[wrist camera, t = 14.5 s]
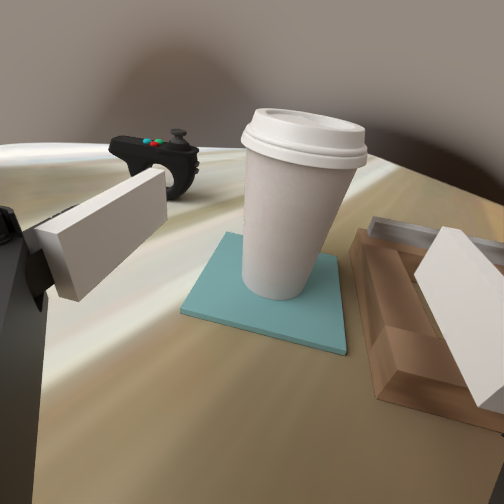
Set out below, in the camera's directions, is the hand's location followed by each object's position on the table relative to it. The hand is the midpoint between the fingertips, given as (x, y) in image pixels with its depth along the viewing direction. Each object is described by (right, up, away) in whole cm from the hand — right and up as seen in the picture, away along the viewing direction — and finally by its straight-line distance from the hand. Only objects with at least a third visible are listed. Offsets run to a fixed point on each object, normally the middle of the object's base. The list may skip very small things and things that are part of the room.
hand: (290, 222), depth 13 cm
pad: (0, -5, +15) cm, 16 cm away
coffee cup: (0, -4, +15) cm, 15 cm away
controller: (-16, +7, +29) cm, 34 cm away
